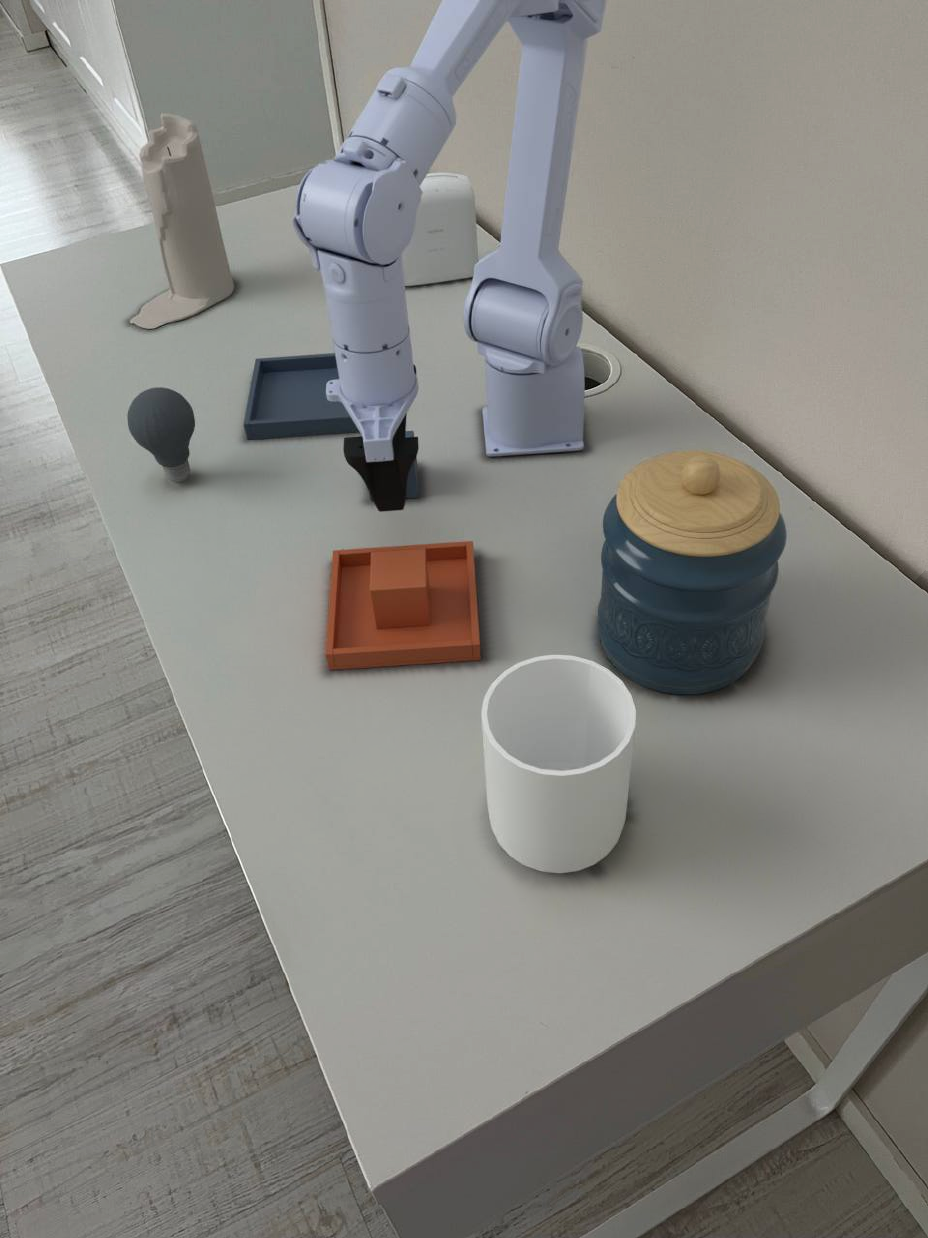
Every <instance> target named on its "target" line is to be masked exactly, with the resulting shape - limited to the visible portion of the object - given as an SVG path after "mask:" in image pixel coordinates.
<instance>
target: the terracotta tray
mask: <svg viewBox="0 0 928 1238" xmlns="http://www.w3.org/2000/svg"><path fill="white" fill-rule="evenodd" d="M414 549H426V557H427V566H428V575H429V584H430V613H431V625H426V626H411V627H396V628H381V629H377V628H376V624H375V618H374V612H373V606H372V600H371V595H370V569H371V553H372V552H384V551H399V550H414ZM475 566H476V565H475V550H474V541H473V540H466V541H452V542H439V543H438V542H437V543H425V544H424V543H422V544H409V545H394V546H393V545H392V546H379V547H377V546H376V547H364V548H363V547H362V548H351V549H349V548H348V549H336V550H335V549H334V550H332V557H331V568H330V569H331V572H330V583H329V597H328V599H329V600H328V612H327V626H326V638H325V639H326V641H325V651H324V652H325V653H324V654H325V655H324V656H325V659H326V664H327V668H328V670H329V671H336V670H351V669H367V668H382V667H397V666H413V665H426V664H427V665H428V664H441V663H457V662H473V661H481V660H482V654H481V653H482V652H481V639H480V624H479V609H478V608H479V607H478V594H477V580H476V579H477V578H476V567H475Z"/></svg>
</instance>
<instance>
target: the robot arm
mask: <svg viewBox="0 0 928 1238" xmlns="http://www.w3.org/2000/svg"><path fill="white" fill-rule="evenodd" d="M607 1H608V0H441V1H440V4H439V6H438V8H437V10H436V12H435V14H434V15H433V16H434V17H433V19H432V20H431V22H430V24H429V26H428V28H427V30H426V33H425V35H424V37H423V38H422V41H421V43H420V45H419V47H418V49H417V51H416V53H415V55H414V57H413V59H412V61H411V63H410V64H409V66H398V67H393V68H390V69H389V70H388V71H386V72H385V73H384V74H383V75H382V77H381V79H380V80H379V82H378V84H377V86H376V88H375V90H374V91H373V93H372V94H371V96H370V98H369V100H368V101H367V103H366V104H365V106H364V108H363V109H362V111H361V113H360V115H359V116H358V118H357V119H356V121H355V122H354V123H353V126H352V128H351V130H349V133H348V134H347V136H346V137H345V140H344V141H343V142H342V144H341V145H340V148H339V149H338V151H337V152H336V154H335V156H334V157H333V159H325V160H324V161H323V163H322V162H319V163H318V164H317V165H316V166H314V167H311V169H310V170H308V171H307V173H305V175H304V176H303V177H302V179H301V181H300V183H299V185H298V189H297V192H296V197H295V214H294V216H293V217H292V218H291V222H292V227H293V230H294V231H295V234H296V236H297V238H298V240H299V241H300V242H301V243H302V244H303V245H305V247H307V249H308V250H309V252H310V255H311V260H312V267H313V268H314V269H316V270H317V271H318V272H319V274H320V275H321V279H322V280H321V281H322V287H323V291H324V297H325V302H326V309H327V312H328V313H327V314H328V319H329V327H330V332H331V339H332V343H333V350H334V353H335V356H336V362H337V368H338V374H339V379H337V380H330V381H329V382H327V384H326V396H327V400H328V401H330V402H341V403H343V405H344V407H345V408H346V410H347V412H348V413H349V415H350V417H351V418H352V420H353V422H354V423H355V425H356V427H357V428H358V430H359V432H358V433H360V435H359V436H358V435H357V436H346V437H345V436H344V437H343V446H342V447H343V448H342V450H343V456H344V459H345V461H346V463H347V464H348V465H349V466H350V467H351V468H353V470H355V472H356V473H357V474H358V475H359V476H360V478H361V479H362V481H363V482H364V484H365V486H366V488H367V491H368V494H369V493H370V494H369V496H370V495H371V497H372V499H373V504H374V506H375V507H376V509H377V511H378V512H379V513H381V512H393V511H395V512H397V511H404V509H405V505H406V499H407V498H406V490H407V479H408V474H409V471H410V468H411V466H412V464H413V462H414V461H415V459H416V458H417V456H418V454H419V436H414V437H406V438H405V434H406V431H407V416H408V415H407V414H408V411H409V410H410V408H411V406H412V405H413V403H414V401H415V399H416V397H417V395H418V393H419V381H418V375H417V366H416V365H415V364H414V358H413V349H412V347H413V346H412V340H411V331H410V324H409V323H410V322H409V313H408V303H407V295H406V294H407V293H406V288H405V287H406V286H405V284H404V274H403V265H402V255H401V254H402V252H403V251H404V249H405V248H406V247H407V246H408V245H409V243H410V240H411V238H412V235H413V231H414V227H415V221H416V212H417V208H418V205H419V203H420V202H421V196H422V193H423V192H422V190H421V188H420V185H421V183H422V182H423V180H424V178H425V177H426V175H427V174H429V171H431V168H432V166H433V165H434V163H435V161H436V160H437V158H438V156H439V155H440V153H441V152H442V150H443V148H444V146H445V144H446V143H447V141H448V140H449V137H450V136H451V134H452V132H453V130H454V129H455V127H456V124H457V112H456V108H455V104H454V100H453V99H454V98H453V97H454V96H455V94H456V93H457V91H458V90H459V89H460V88H461V86H462V84H463V83H464V81H466V79H467V77H468V76H469V75H470V73H471V72H472V71H473V69H474V67H475V66H476V65H477V63H479V60H480V59H481V58H482V56H483V55H484V53H485V52H486V51H487V49H488V48H489V47H490V45H491V44H492V43H493V41H494V40H495V38H496V37H497V35H498V34H499V32H500V31H501V29H502V28H503V27H504V26H505V24H506V23H509V25H510V27H511V29H512V30H513V32H514V34H515V35H516V37H517V39H518V40H519V42H520V45H521V56H520V64H519V72H518V81H517V91H516V100H515V110H514V117H513V127H512V137H511V144H510V151H509V152H510V153H509V164H508V171H507V179H506V189H505V197H504V207H503V215H502V225H501V234H500V241H499V242H500V243H499V247H498V248H497V249H495V250H493V251H492V252H489V253H488V254H486V255H485V256H483V257H482V258H480V259H479V260H478V263H476V265H475V266H474V275H473V277H472V280H471V284H470V288H469V290H468V293H467V296H465V297H466V298H465V301H464V305H463V309H462V310H463V312H462V320H463V321H462V323H463V326H464V327H463V328H464V331H465V333H466V336H467V338H469V339H470V340H471V341H473V342H476V343H477V354H479V355H481V356H483V357H484V365H485V366H484V367H485V386H486V387H485V389H486V406H484V407H483V408H482V421H483V432H484V444H485V454H486V456H487V457H490V458H491V457H505V456H519V455H534V454H547V453H549V454H550V453H551V454H552V453H564V452H565V453H566V452H577V451H583V450H584V446H585V445H584V425H585V424H584V423H585V422H584V420H585V410H586V409H585V394H586V393H585V390H586V389H585V388H586V387H585V384H586V383H585V365H584V357H583V352H582V347H581V346H579V345H578V343H579V340H580V338H581V334H582V331H583V323H584V314H583V308H582V297H583V296H582V295H583V282H584V280H583V278H582V277H581V276H580V274H579V273H578V271H576V270H575V268H574V267H573V265H571V264H570V263H569V261H567V259H566V258H565V257H564V256H563V255H562V253H561V252H560V250H559V247H560V246H559V245H560V240H561V232H562V227H563V219H564V212H565V206H566V205H565V203H566V197H567V189H568V183H569V176H570V170H571V163H572V162H571V161H572V155H573V149H574V148H573V147H574V141H575V136H576V135H575V134H576V129H577V128H576V127H577V121H578V114H579V106H580V99H581V92H582V87H583V86H582V85H583V78H584V70H585V65H586V58H587V50H588V44H589V38H591V37H592V36H595V35H597V34H600V32H601V31H602V28H603V21H604V17H605V16H604V15H605V12H606V6H607Z"/></svg>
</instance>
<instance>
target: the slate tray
mask: <svg viewBox="0 0 928 1238" xmlns="http://www.w3.org/2000/svg"><path fill="white" fill-rule="evenodd" d="M337 379H339V374H338V368H337V362H336V356H335V352H331V353H315V354H303V355H287V356H286V355H285V356H274V357H273V356H272V357H262V358H260V357H259V358H255V359H254V367H253V371H252V376H251V382H250V387H249V394H248V398H247V403H246V408H245V414H244V419H243V428H244V433H245V436H246V439H247V440H259V439H262V440H263V439H273V438H274V439H275V438H290V437H303V436H304V437H305V436H317V435H318V436H320V435H332V434H347V433H360V432H359V430H358V428H357V427H356V425H355V423H354V422H353V420H352V418H351V417H350V415H349V413H348V412H347V410H346V408H345V407H344V405H343V403H341V402H330V401H328V400H327V396H326V384H327V382H329V381H330V380H337Z"/></svg>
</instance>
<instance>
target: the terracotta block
mask: <svg viewBox="0 0 928 1238" xmlns="http://www.w3.org/2000/svg"><path fill="white" fill-rule="evenodd" d="M370 595H371V600H372V606H373V612H374V618H375V624H376V628H377V629H381V628H396V627H411V626H426V625H431V613H430V584H429V575H428V566H427V557H426V549H414V550H399V551H384V552H372V553H371V569H370Z"/></svg>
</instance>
